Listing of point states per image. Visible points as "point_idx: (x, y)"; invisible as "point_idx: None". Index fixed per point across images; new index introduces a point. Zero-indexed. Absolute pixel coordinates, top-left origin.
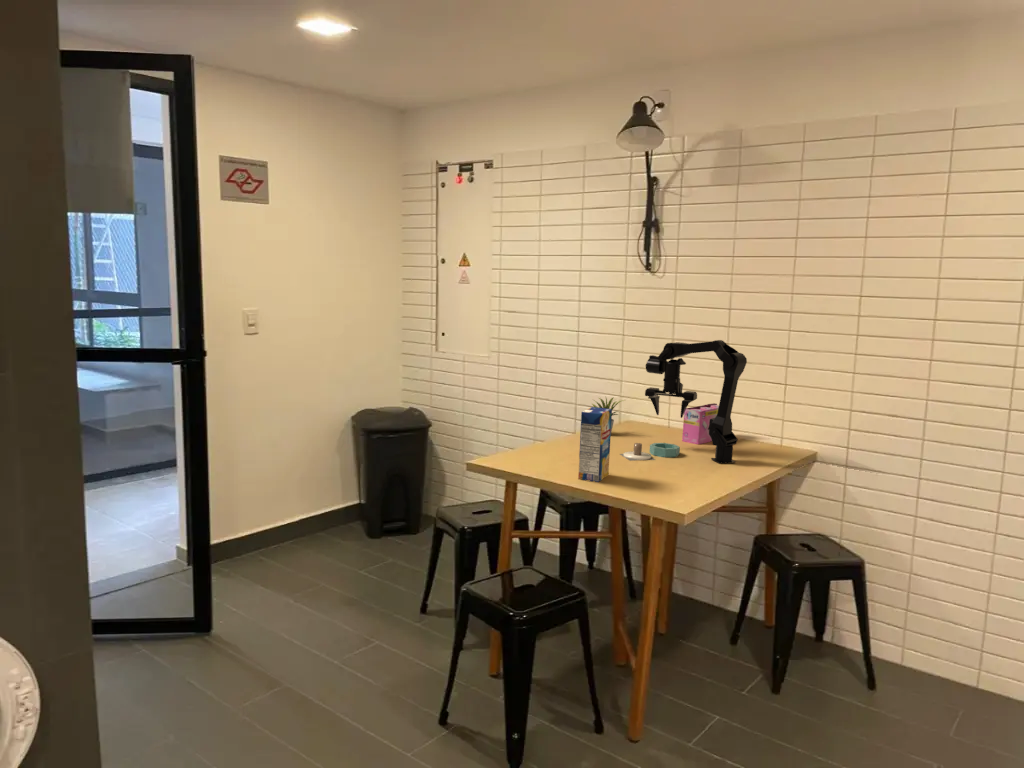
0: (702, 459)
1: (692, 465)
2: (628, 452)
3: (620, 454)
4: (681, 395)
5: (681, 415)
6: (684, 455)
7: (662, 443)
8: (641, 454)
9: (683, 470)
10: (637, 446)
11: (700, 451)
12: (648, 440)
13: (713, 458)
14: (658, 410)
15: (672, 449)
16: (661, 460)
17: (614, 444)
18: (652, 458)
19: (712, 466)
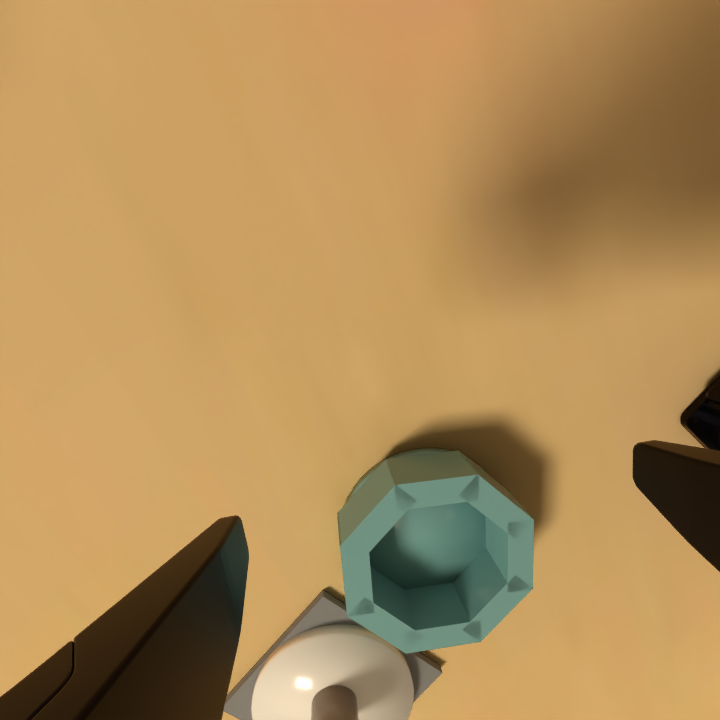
0: None
1: (620, 603)
2: (267, 700)
3: (234, 716)
4: None
5: (685, 521)
6: (518, 434)
7: (394, 514)
8: (349, 684)
9: (609, 708)
10: None
11: (568, 246)
12: (97, 159)
13: (699, 424)
14: (223, 600)
15: (513, 603)
16: None
17: (9, 493)
18: (415, 662)
19: None
